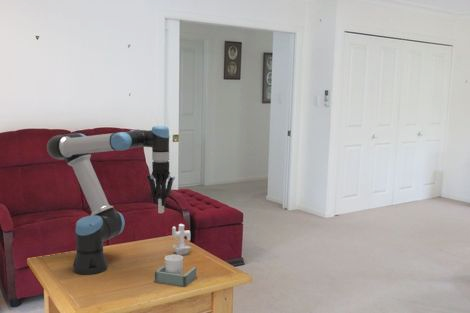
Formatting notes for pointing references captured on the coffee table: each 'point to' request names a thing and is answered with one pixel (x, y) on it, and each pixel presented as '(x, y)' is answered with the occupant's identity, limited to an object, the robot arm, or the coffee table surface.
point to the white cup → (174, 264)
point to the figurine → (181, 240)
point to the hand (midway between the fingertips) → (161, 212)
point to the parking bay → (174, 277)
